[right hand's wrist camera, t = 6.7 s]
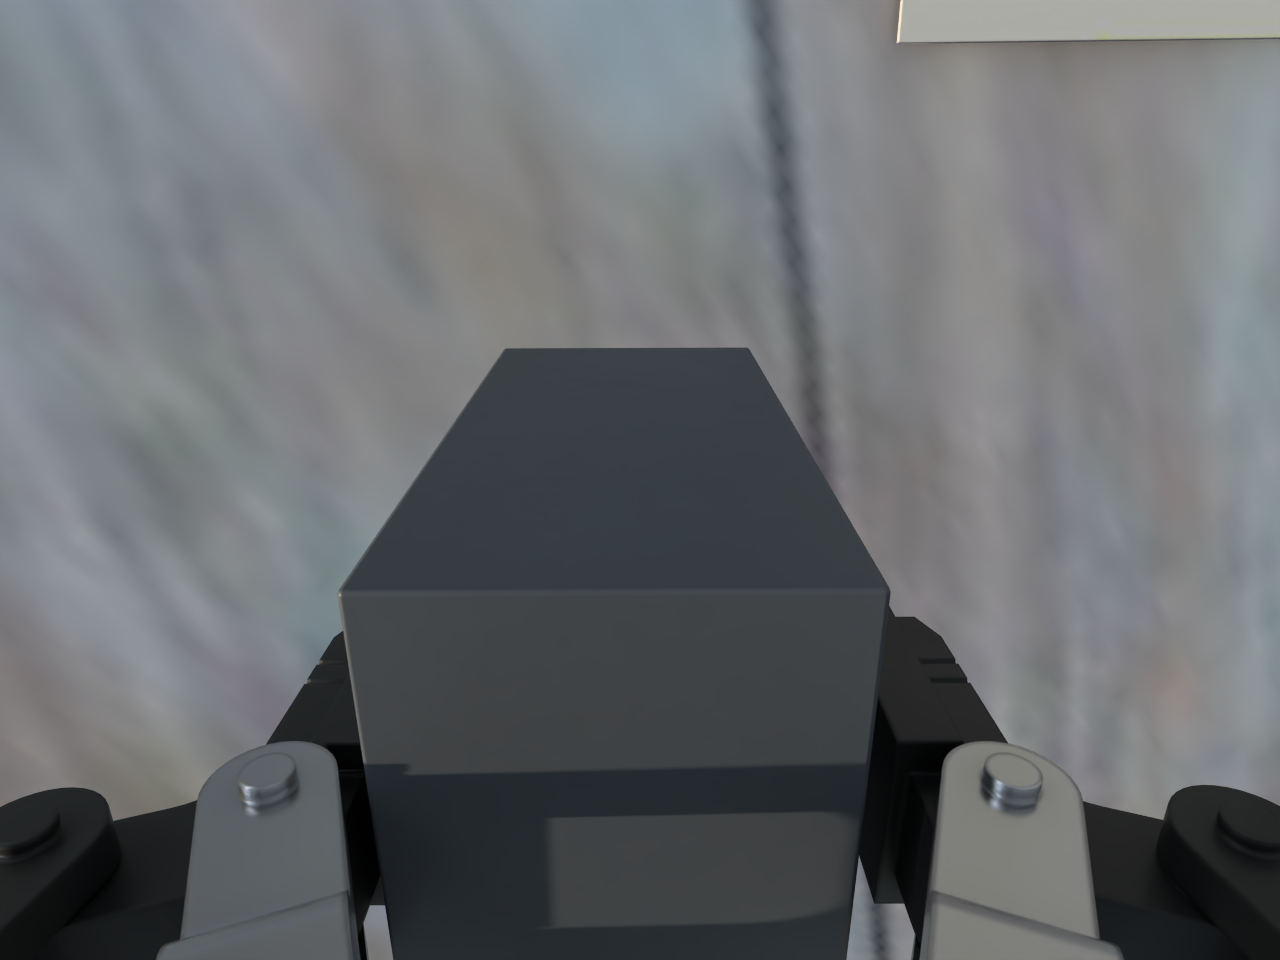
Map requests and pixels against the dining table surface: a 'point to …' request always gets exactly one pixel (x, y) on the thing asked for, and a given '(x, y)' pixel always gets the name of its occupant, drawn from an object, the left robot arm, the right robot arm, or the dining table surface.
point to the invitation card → (1085, 20)
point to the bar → (617, 672)
